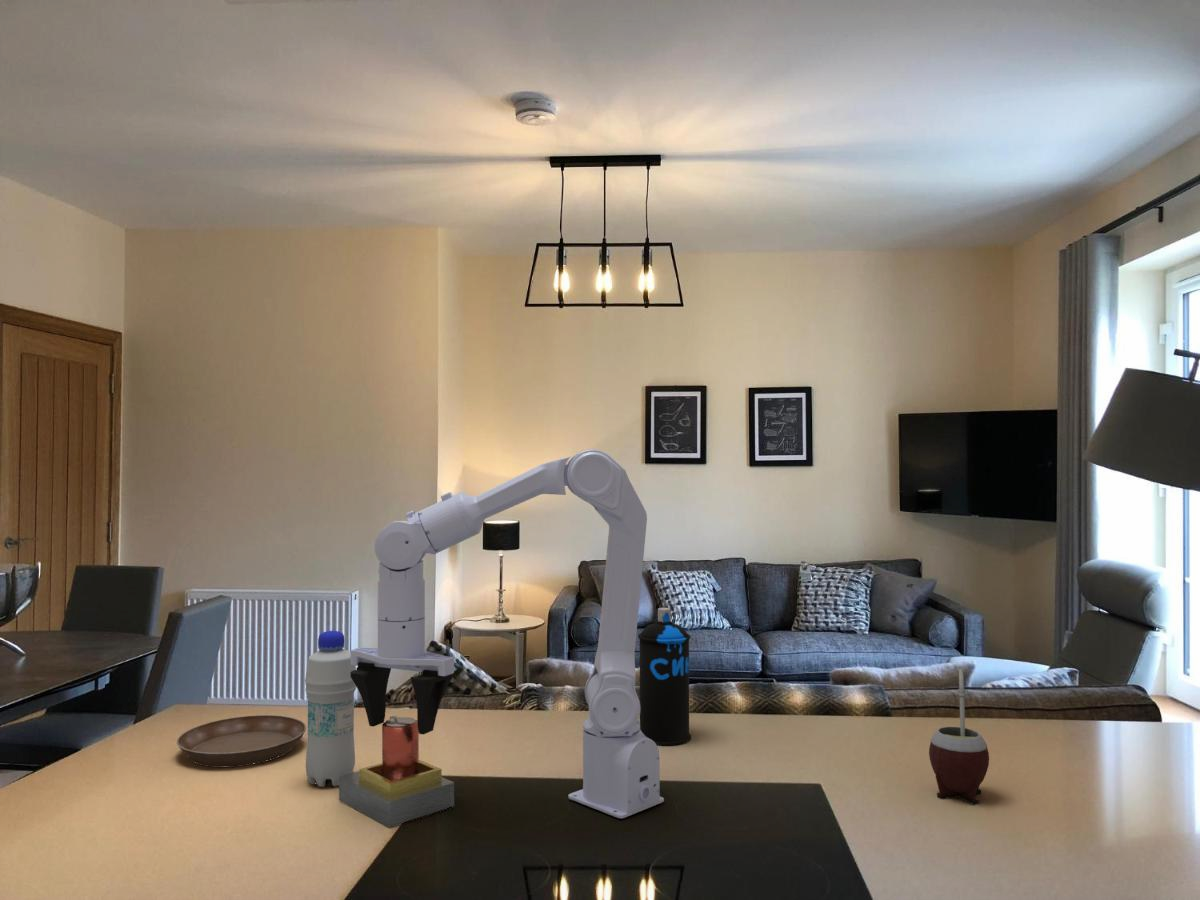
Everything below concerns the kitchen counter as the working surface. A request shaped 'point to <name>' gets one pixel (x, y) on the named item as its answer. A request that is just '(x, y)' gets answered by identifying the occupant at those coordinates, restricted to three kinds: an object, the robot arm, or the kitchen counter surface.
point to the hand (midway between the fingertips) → (401, 728)
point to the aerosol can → (664, 681)
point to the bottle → (330, 711)
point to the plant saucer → (241, 740)
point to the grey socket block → (396, 794)
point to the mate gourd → (959, 757)
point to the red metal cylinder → (400, 748)
